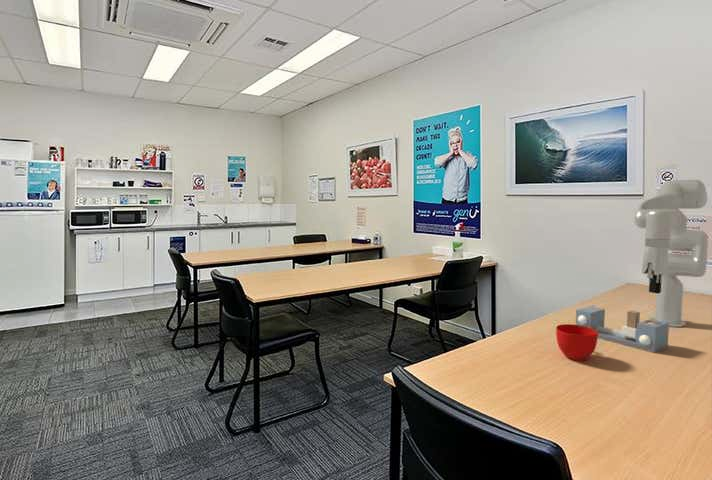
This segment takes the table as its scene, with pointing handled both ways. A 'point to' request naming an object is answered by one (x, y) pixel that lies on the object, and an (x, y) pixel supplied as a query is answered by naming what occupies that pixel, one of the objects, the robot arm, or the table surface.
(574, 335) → the ceramic cup
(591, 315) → the rail bed
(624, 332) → the carriage
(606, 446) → the table surface
